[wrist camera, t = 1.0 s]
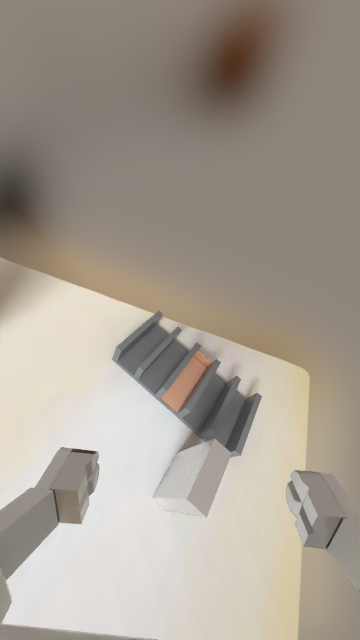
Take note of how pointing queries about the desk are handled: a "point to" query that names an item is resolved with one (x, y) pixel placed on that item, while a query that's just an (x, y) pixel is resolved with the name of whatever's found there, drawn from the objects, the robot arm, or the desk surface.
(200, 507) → the panel
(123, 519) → the desk surface
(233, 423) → the rack
